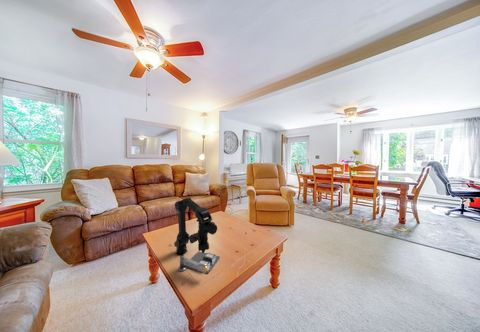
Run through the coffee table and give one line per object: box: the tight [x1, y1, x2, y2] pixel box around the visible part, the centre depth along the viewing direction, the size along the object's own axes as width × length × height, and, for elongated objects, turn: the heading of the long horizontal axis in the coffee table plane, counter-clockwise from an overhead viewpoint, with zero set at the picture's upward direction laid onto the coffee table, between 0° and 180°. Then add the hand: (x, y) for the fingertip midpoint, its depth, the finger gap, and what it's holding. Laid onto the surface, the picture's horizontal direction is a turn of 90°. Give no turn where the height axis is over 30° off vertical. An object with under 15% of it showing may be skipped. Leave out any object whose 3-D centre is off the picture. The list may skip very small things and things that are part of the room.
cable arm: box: [183, 257, 207, 274], centre depth 94 cm, size 18×2×3 cm, turn 65°
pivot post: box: [177, 254, 187, 273], centre depth 99 cm, size 5×5×8 cm
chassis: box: [184, 250, 221, 275], centre depth 106 cm, size 18×16×3 cm
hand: (203, 252), depth 100 cm, fingers closed
